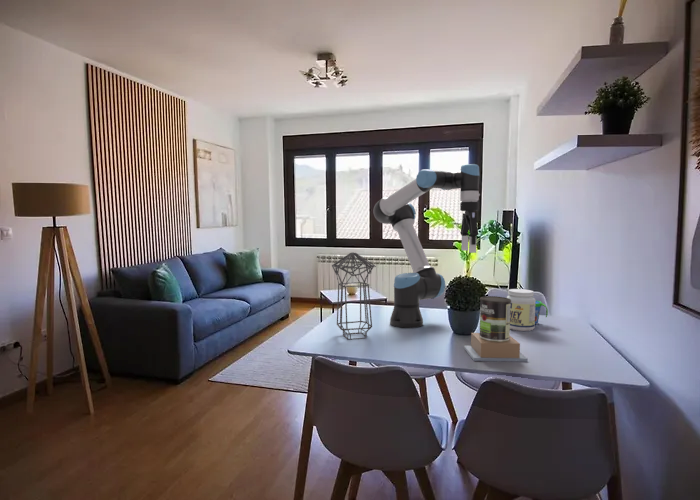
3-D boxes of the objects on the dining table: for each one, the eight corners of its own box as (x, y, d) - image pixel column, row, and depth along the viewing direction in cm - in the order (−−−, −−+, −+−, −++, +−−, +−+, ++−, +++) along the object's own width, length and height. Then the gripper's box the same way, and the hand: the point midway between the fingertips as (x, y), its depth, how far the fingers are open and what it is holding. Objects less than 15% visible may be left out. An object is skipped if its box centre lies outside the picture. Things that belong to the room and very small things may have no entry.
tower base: (473, 360, 137) (474, 343, 137) (463, 348, 151) (464, 332, 151) (527, 361, 136) (528, 344, 136) (512, 348, 150) (513, 332, 150)
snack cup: (508, 322, 190) (509, 301, 190) (514, 318, 199) (514, 298, 198) (545, 327, 181) (545, 305, 181) (549, 322, 190) (549, 301, 189)
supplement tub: (499, 327, 182) (500, 290, 181) (514, 323, 189) (515, 287, 188) (525, 333, 172) (526, 293, 171) (540, 328, 179) (541, 291, 178)
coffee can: (494, 343, 137) (495, 302, 136) (473, 336, 146) (473, 297, 145) (516, 339, 141) (517, 299, 140) (494, 332, 150) (495, 295, 149)
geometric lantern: (340, 343, 158) (338, 253, 156) (332, 333, 173) (330, 252, 172) (378, 339, 161) (377, 252, 160) (367, 330, 177) (366, 251, 175)
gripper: (487, 199, 159) (485, 253, 160) (471, 203, 183) (470, 249, 185) (467, 199, 159) (466, 253, 160) (454, 203, 184) (453, 249, 185)
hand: (468, 251), depth 173 cm, fingers open, 13 cm apart
